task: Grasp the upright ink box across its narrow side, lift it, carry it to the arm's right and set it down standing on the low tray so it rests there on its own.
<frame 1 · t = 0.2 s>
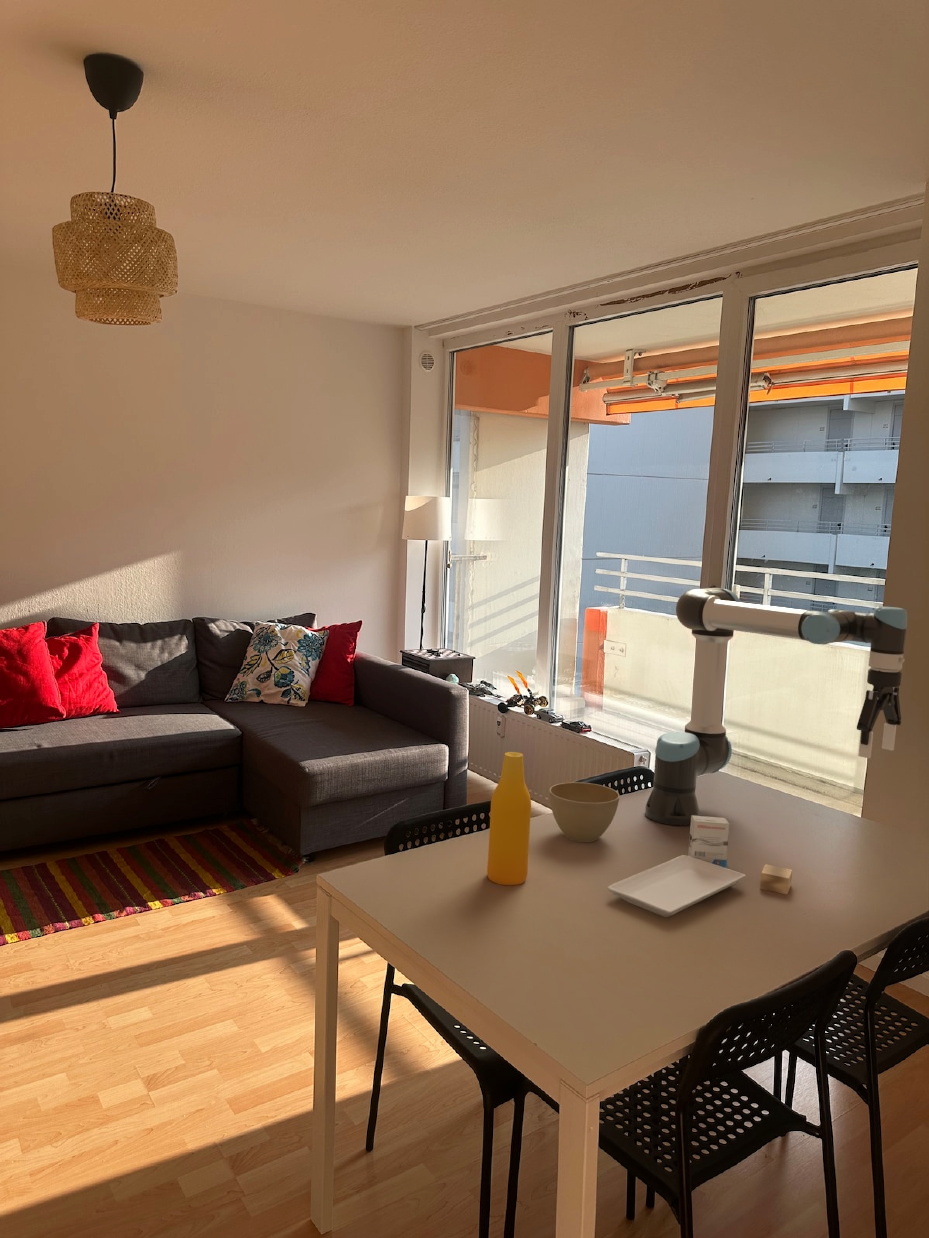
hand: (876, 753, 222), 28 cm above the table, fingers open, 13 cm apart
oak block: (775, 887, 206), on the table
beige round bowl: (581, 837, 232), on the table
ink box: (706, 866, 217), on the table
beer bottle: (506, 878, 203), on the table
tray: (676, 895, 199), on the table
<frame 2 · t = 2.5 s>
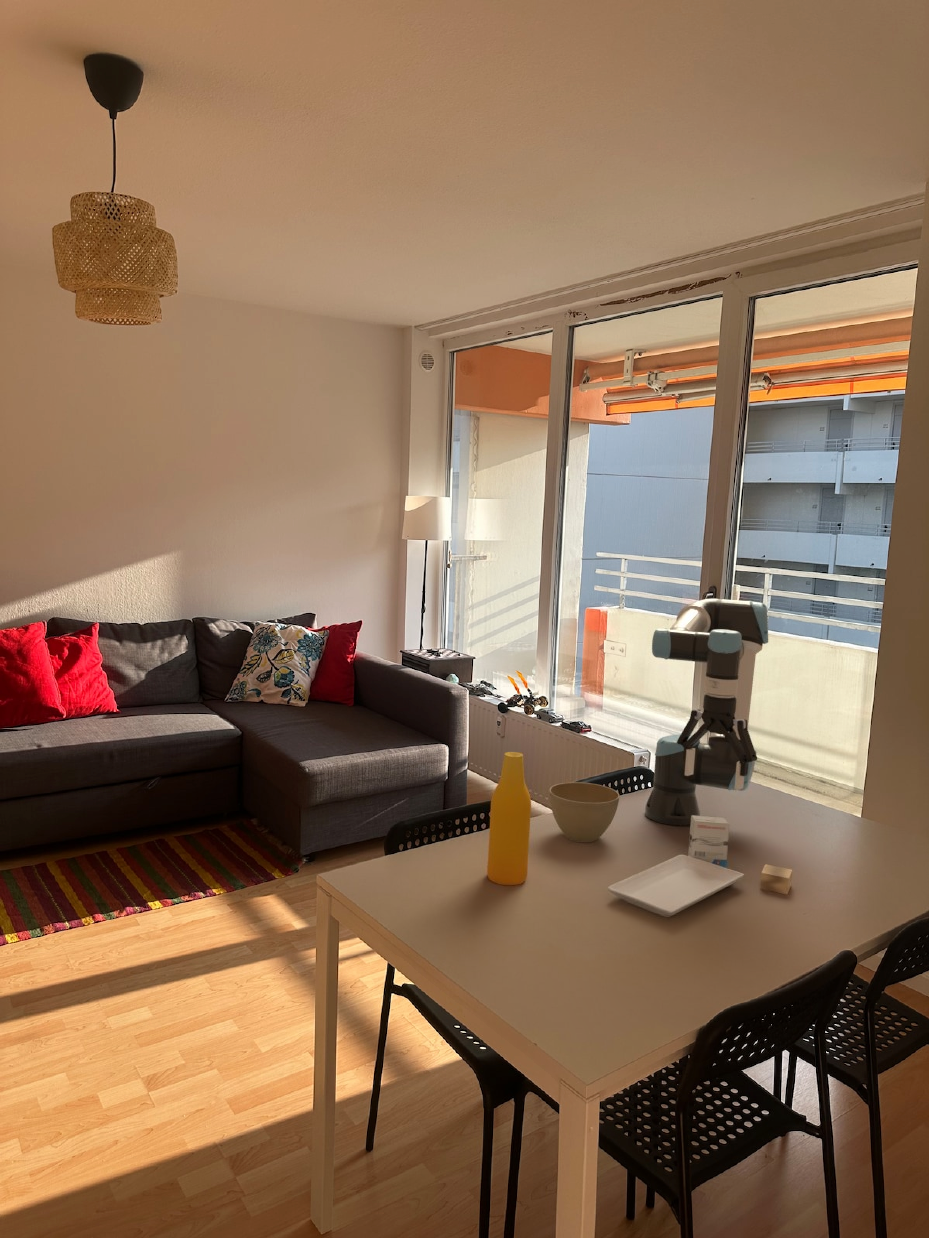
hand: (713, 781, 214), 21 cm above the table, fingers open, 13 cm apart
nothing on the table moved.
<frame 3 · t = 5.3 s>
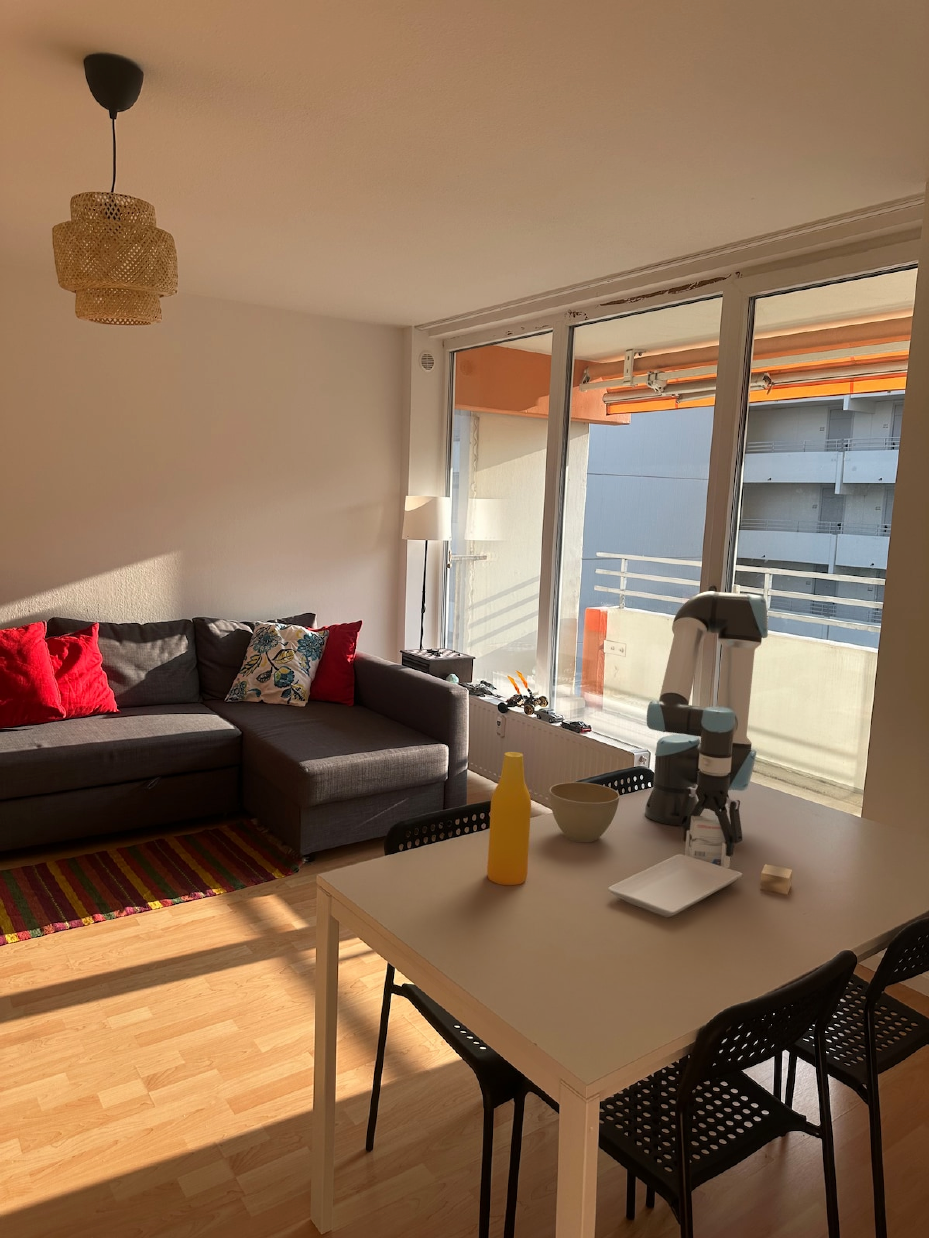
hand: (706, 861, 216), 1 cm above the table, fingers closed on ink box, 9 cm apart
ink box: (706, 866, 217), on the table, touching gripper
everything else where it was.
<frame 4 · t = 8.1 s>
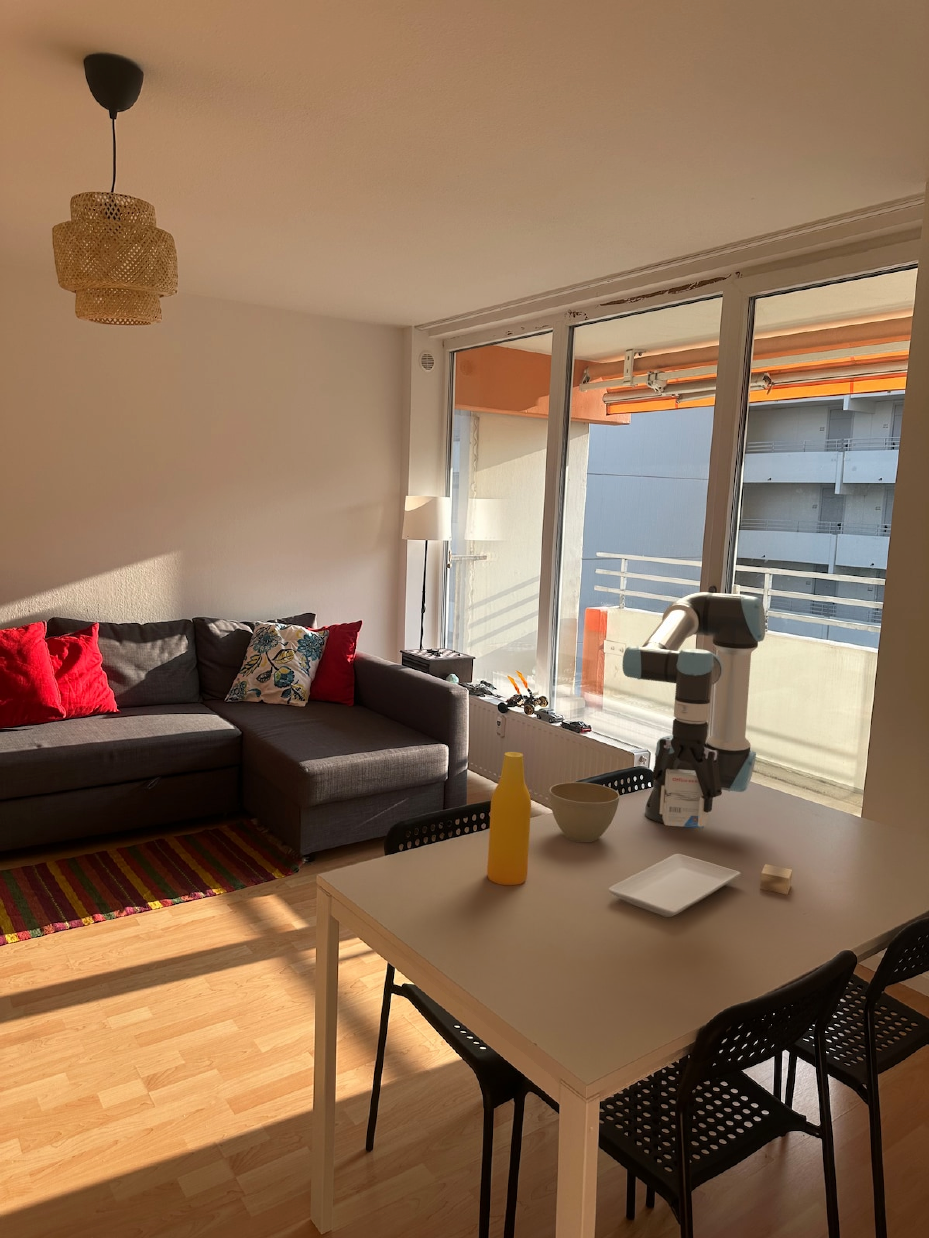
hand: (683, 818, 197), 17 cm above the table, fingers closed on ink box, 9 cm apart
ink box: (682, 824, 198), point 16 cm above the table, touching gripper
everything else where it was.
when the fingers open (5 cm above the table, at t = 11.1 s): ink box drops 1 cm, resting on tray.
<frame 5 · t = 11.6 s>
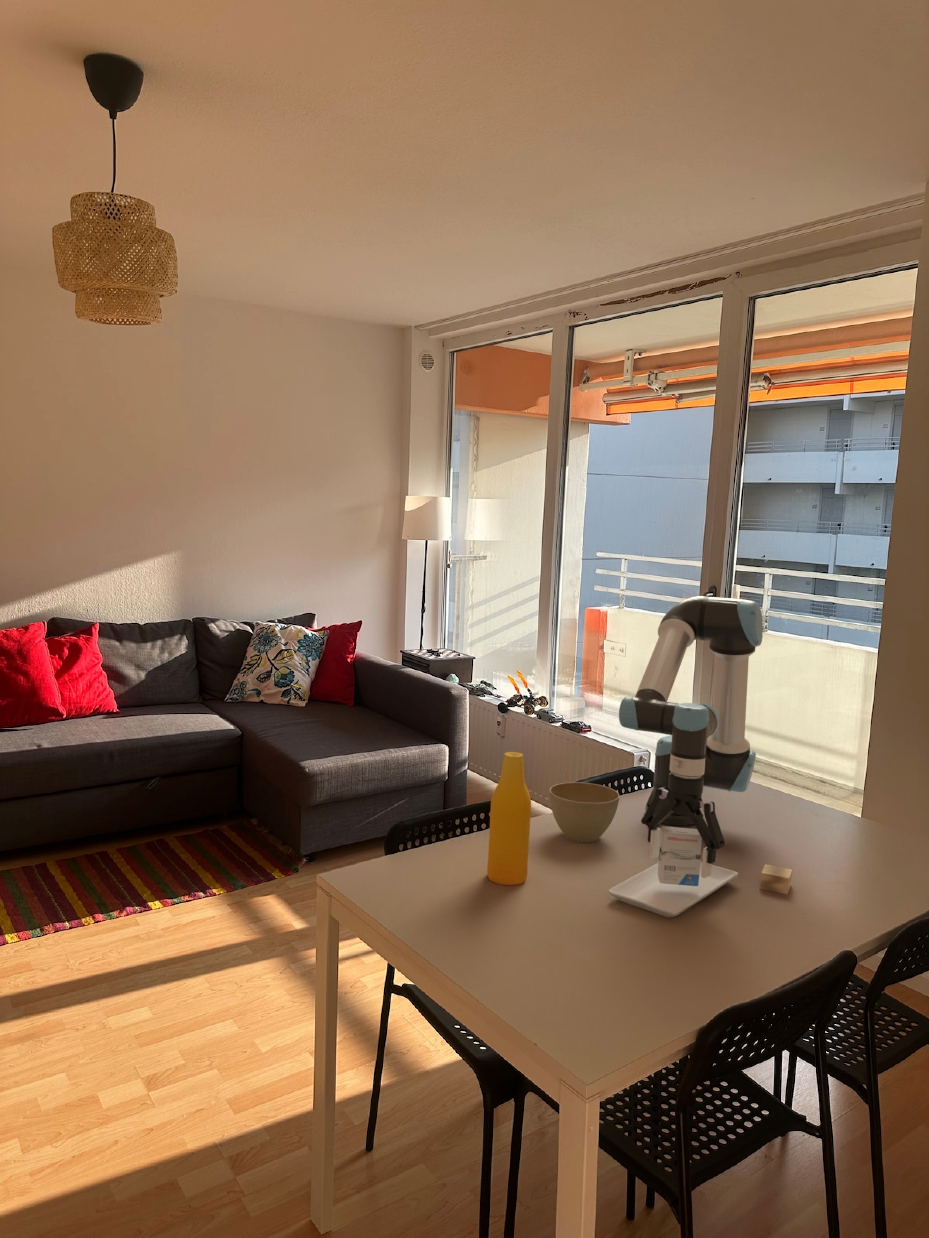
hand: (679, 866, 199), 6 cm above the table, fingers open, 13 cm apart
ink box: (677, 881, 199), point 3 cm above the table, touching tray
tray: (674, 895, 200), on the table, touching ink box
everything else where it was.
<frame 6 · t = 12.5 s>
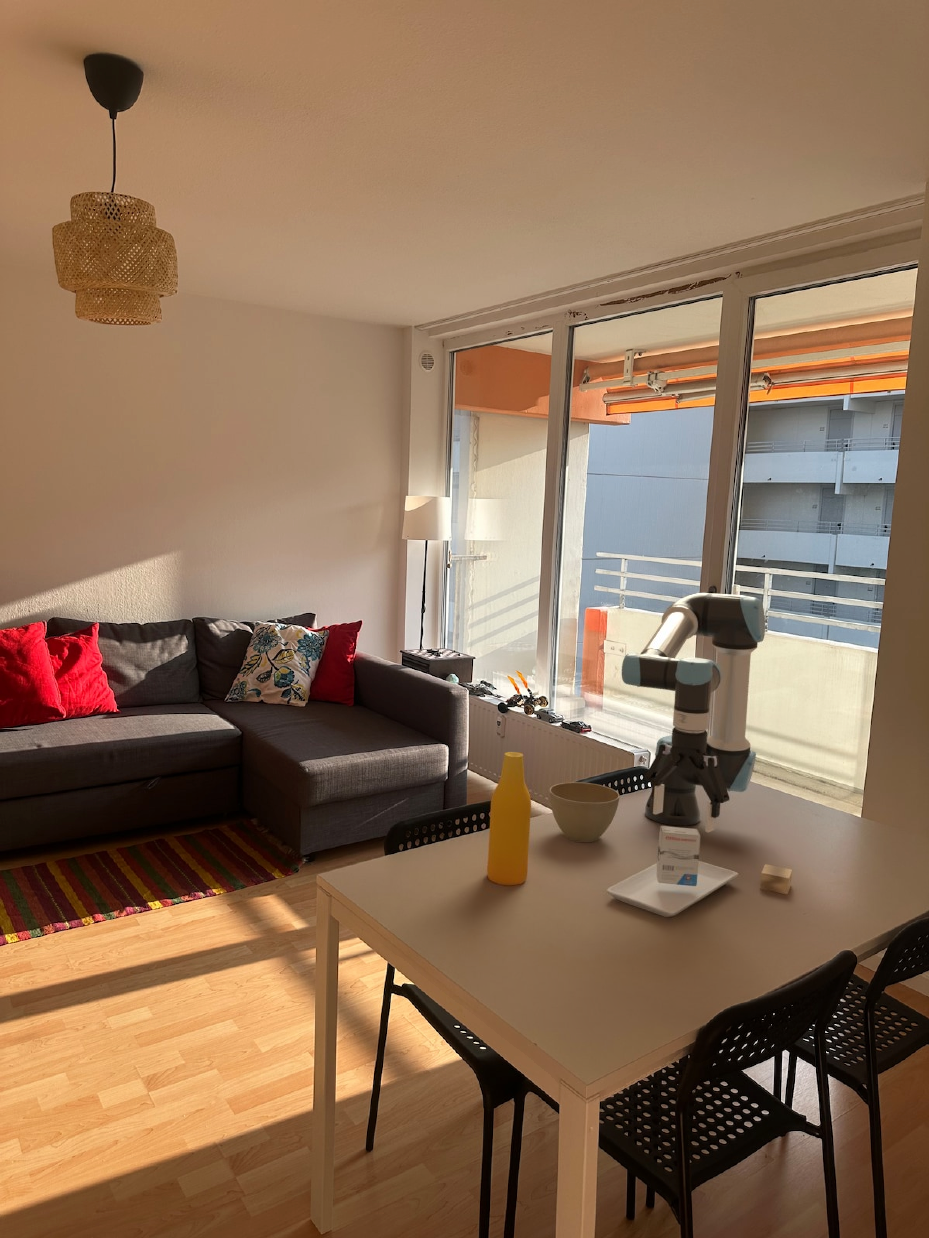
hand: (683, 821, 198), 16 cm above the table, fingers open, 13 cm apart
nothing on the table moved.
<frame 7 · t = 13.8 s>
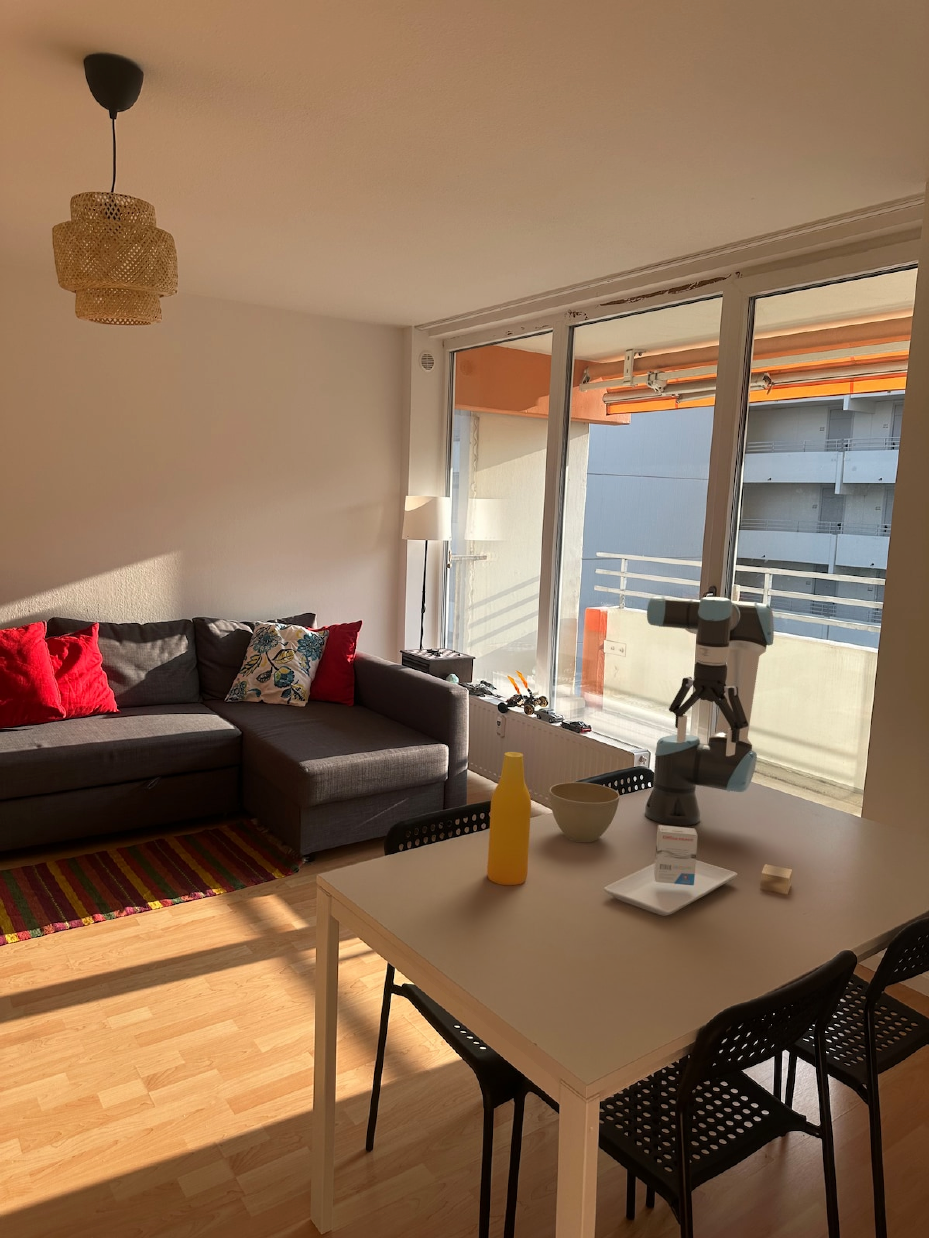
hand: (705, 748, 215), 29 cm above the table, fingers open, 13 cm apart
nothing on the table moved.
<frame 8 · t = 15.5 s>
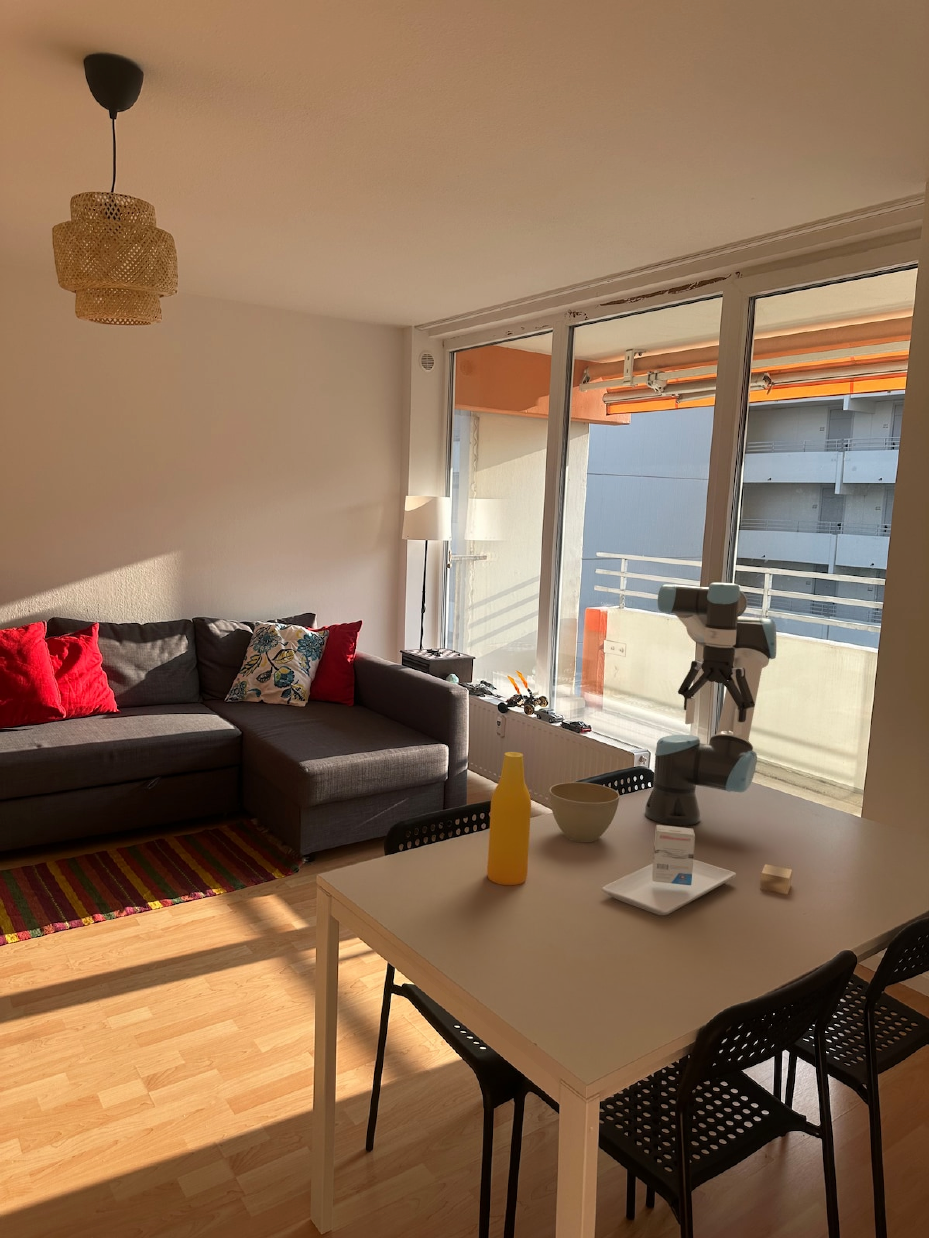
hand: (712, 729, 223), 32 cm above the table, fingers open, 13 cm apart
at the end: ink box inside the target area on the tray (0.2 cm from its centre), point 3.5 cm above the tray's base; ink box tilted 1°; the gripper is holding nothing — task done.
